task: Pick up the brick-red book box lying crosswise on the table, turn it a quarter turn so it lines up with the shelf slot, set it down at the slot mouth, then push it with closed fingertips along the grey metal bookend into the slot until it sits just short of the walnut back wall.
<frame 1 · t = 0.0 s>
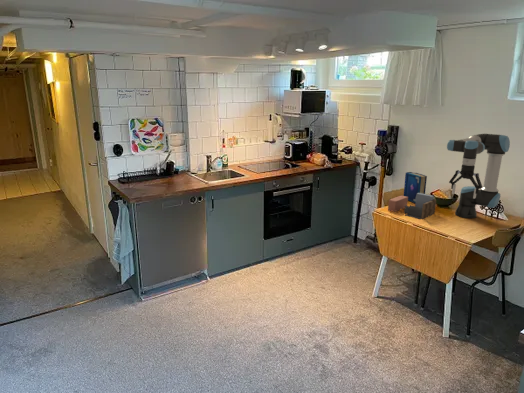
hand: (463, 196, 262), 28 cm above the table, fingers open, 13 cm apart
shelf wall: (428, 209, 307), on the table
bookend: (412, 211, 308), on the table
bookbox: (397, 208, 327), on the table
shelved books: (424, 203, 316), on the table
book: (412, 201, 348), on the table
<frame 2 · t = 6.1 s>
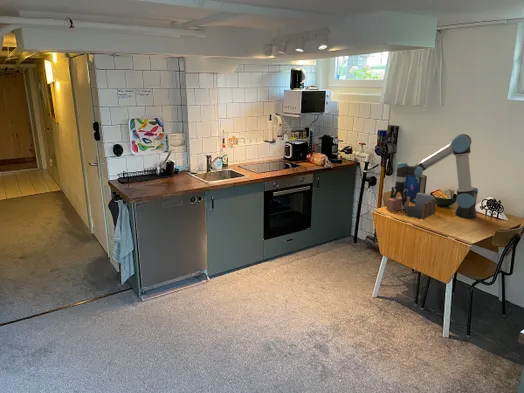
hand: (397, 208, 327), 0 cm above the table, fingers open, 7 cm apart
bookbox: (397, 208, 327), on the table, touching gripper
everything else where it was.
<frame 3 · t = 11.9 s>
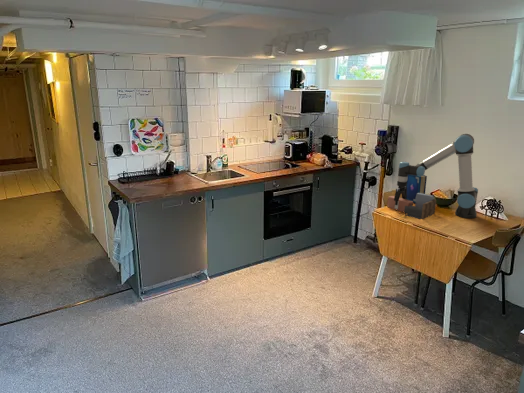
hand: (399, 207, 325), 2 cm above the table, fingers open, 9 cm apart
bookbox: (399, 209, 325), on the table
everything else where it was.
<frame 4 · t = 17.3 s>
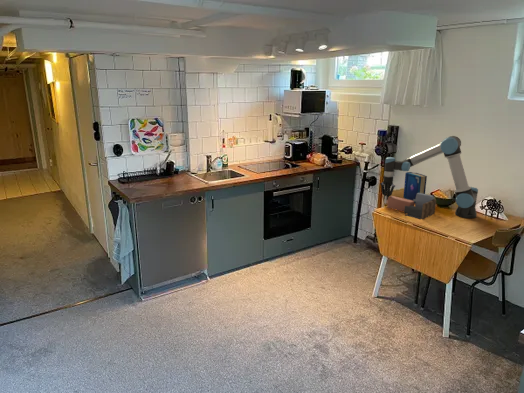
hand: (385, 203, 333), 2 cm above the table, fingers closed
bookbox: (399, 209, 325), on the table, touching gripper
everything else where it was.
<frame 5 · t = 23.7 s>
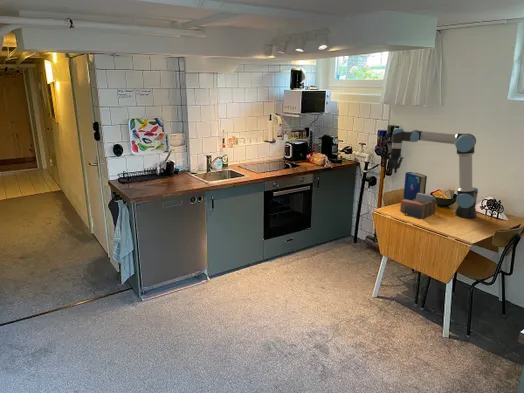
hand: (393, 176, 324), 26 cm above the table, fingers closed
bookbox: (413, 213, 317), on the table
everything else where it was.
at the end: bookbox 0.5 cm from the target spot, on the table; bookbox tilted 0° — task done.
